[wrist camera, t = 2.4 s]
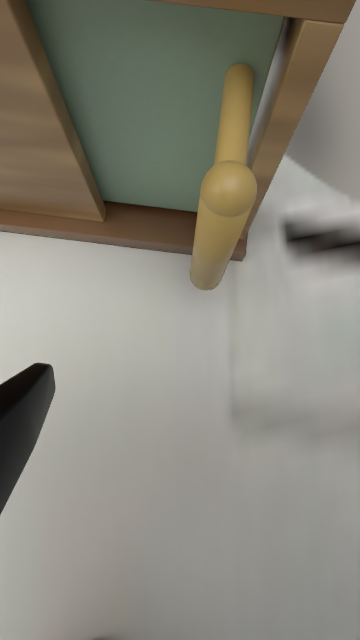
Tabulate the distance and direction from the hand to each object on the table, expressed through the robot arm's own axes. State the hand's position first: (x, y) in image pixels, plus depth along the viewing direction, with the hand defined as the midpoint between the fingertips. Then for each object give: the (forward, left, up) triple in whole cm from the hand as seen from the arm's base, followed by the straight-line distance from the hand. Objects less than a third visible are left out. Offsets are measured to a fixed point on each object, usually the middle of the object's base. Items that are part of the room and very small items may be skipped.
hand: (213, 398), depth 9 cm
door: (+6, +8, -11) cm, 15 cm away
